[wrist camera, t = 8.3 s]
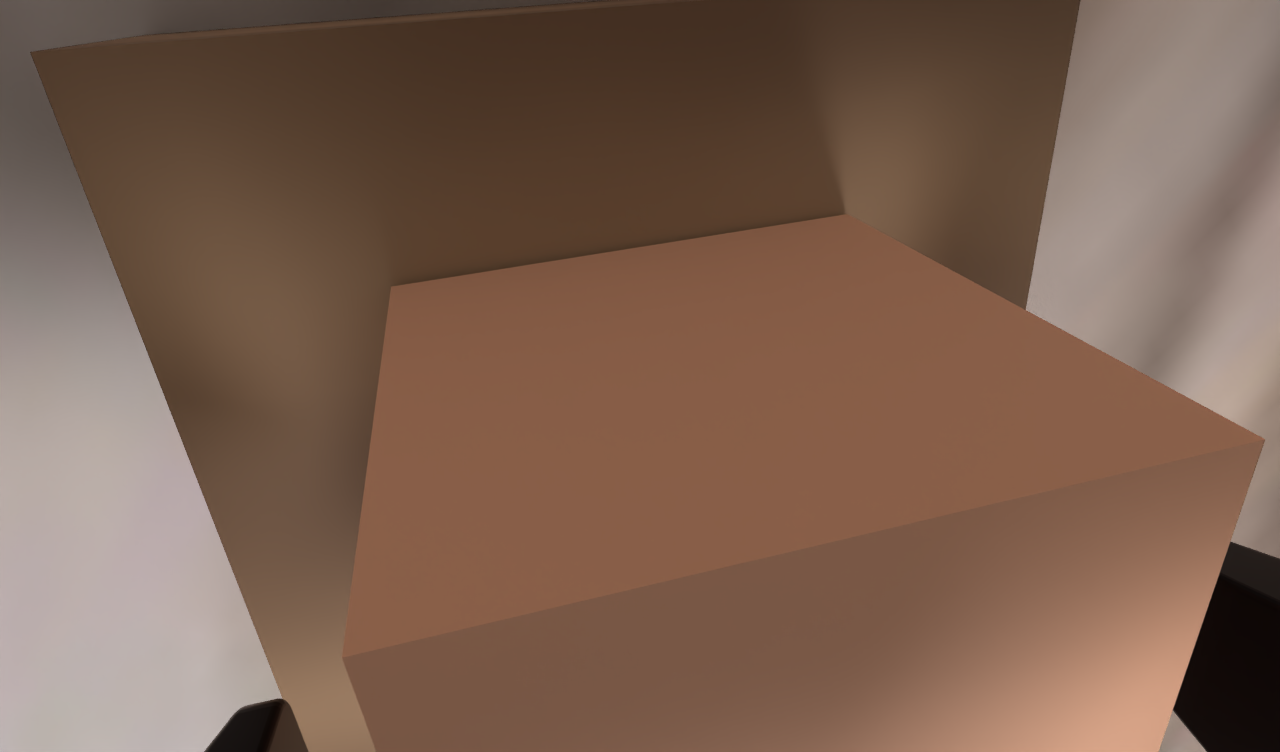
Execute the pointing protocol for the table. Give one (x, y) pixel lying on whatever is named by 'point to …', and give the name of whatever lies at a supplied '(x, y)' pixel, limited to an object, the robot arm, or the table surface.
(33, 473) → the table surface
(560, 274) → the terracotta cube
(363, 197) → the walnut block
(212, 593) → the table surface
